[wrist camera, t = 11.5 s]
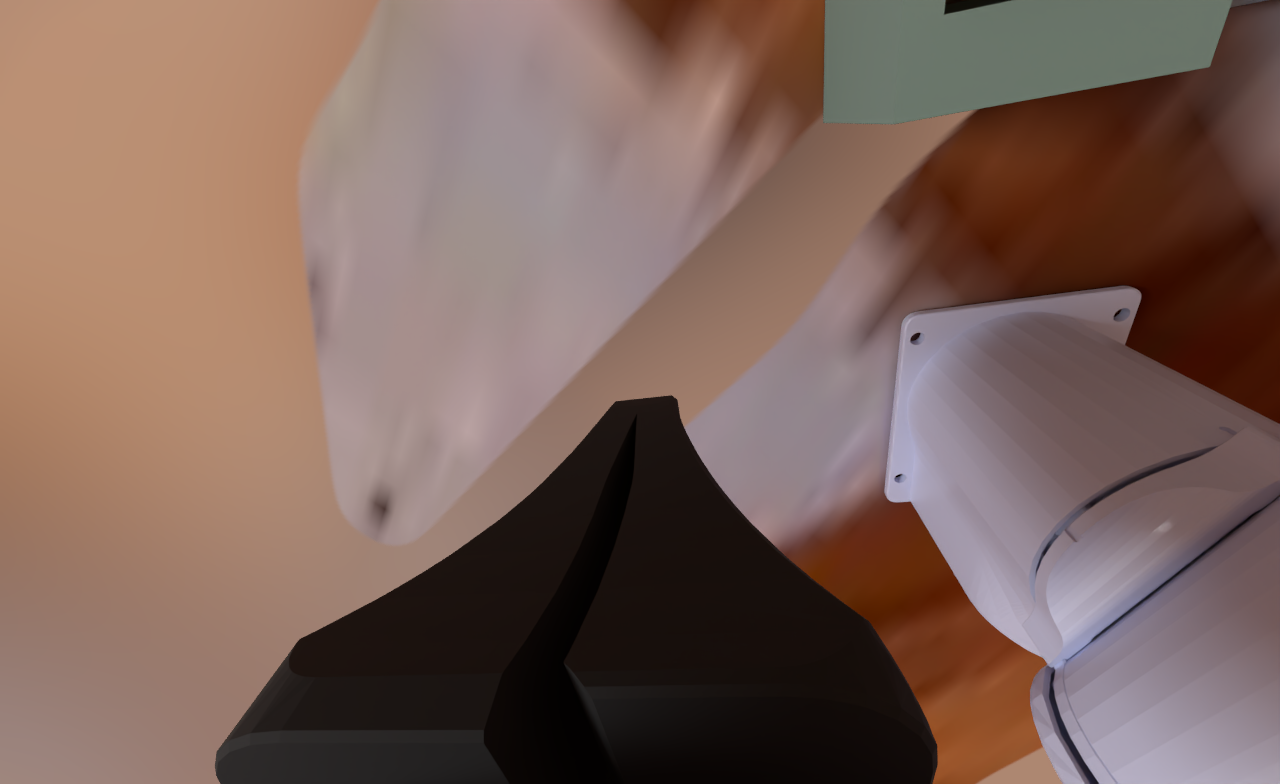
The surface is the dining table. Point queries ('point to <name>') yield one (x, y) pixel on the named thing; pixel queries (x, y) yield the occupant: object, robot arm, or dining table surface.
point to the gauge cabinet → (1001, 51)
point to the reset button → (952, 1)
